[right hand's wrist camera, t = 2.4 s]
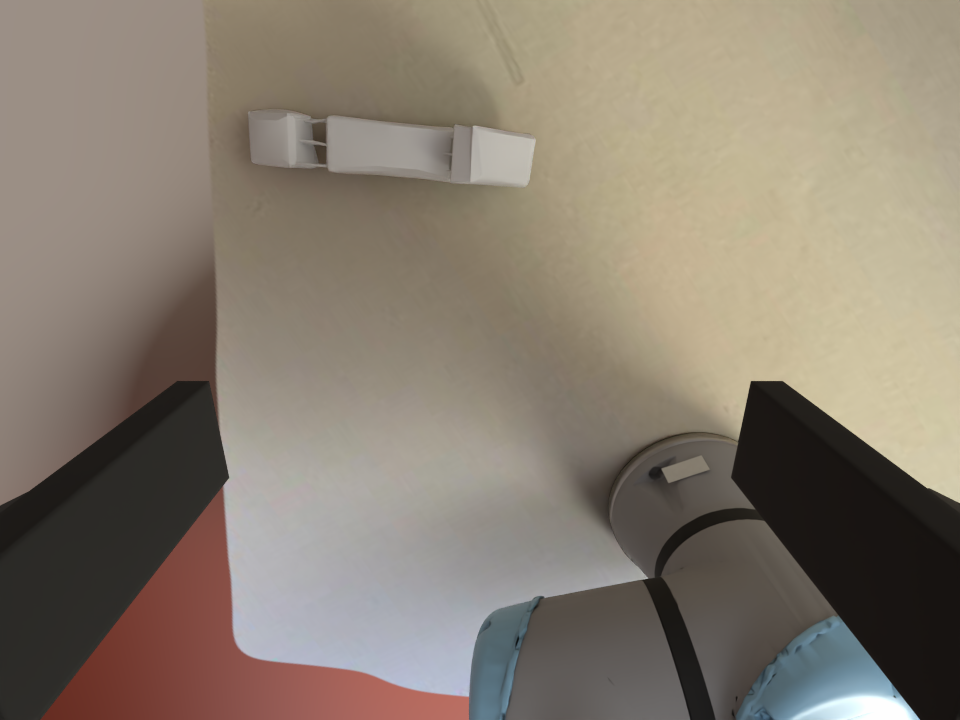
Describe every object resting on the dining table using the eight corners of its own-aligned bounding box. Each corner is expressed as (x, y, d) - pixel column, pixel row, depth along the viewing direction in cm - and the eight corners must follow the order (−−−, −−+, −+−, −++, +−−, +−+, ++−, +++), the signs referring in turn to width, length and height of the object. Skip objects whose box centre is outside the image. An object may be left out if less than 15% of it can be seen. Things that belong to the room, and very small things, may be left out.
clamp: (536, 134, 38) (536, 127, 31) (530, 188, 39) (529, 192, 33) (271, 111, 39) (220, 100, 33) (274, 164, 40) (225, 164, 34)
